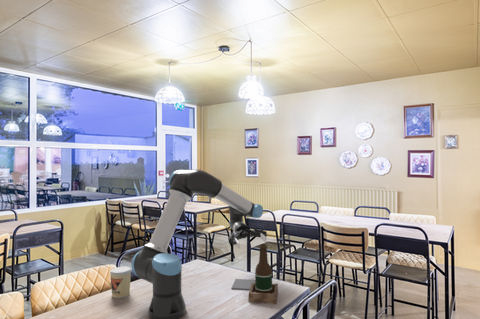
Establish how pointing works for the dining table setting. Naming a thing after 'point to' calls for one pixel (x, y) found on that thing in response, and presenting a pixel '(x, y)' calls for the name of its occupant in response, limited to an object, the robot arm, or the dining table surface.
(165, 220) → the robot arm
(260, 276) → the beer bottle
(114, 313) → the dining table surface
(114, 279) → the coffee cup
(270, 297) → the caddy
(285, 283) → the dining table surface
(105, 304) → the dining table surface
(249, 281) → the coaster
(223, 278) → the dining table surface
